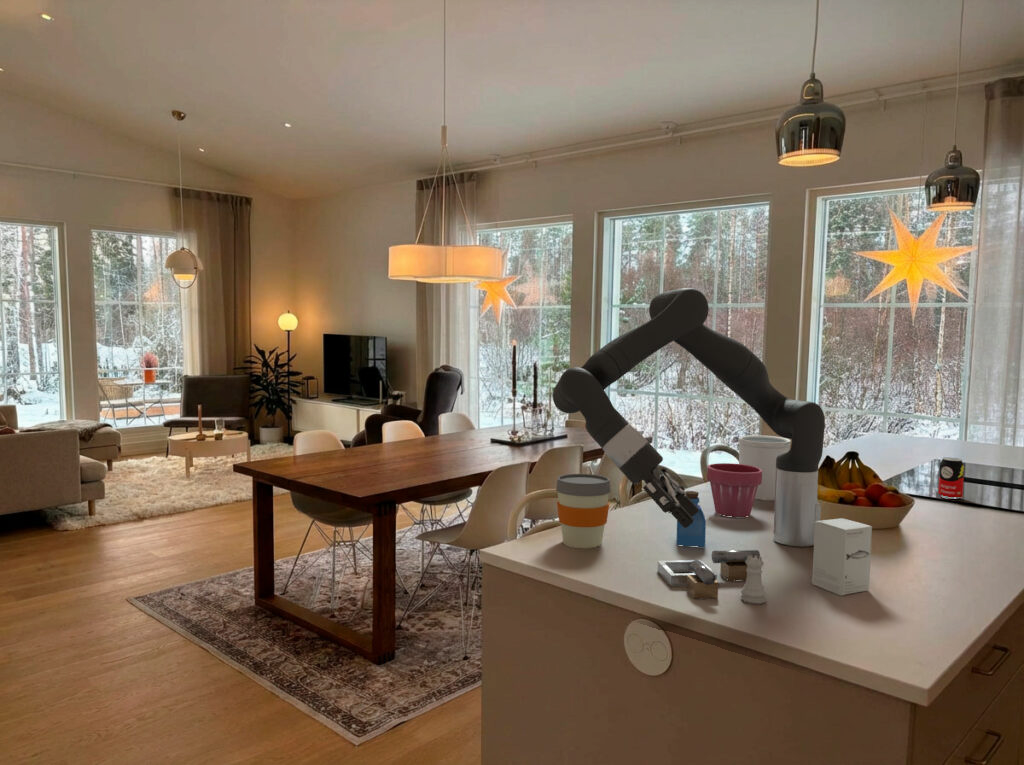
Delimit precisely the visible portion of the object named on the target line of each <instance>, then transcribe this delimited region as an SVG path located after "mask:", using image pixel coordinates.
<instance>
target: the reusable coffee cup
mask: <svg viewBox="0 0 1024 765" xmlns="http://www.w3.org/2000/svg"><path fill="white" fill-rule="evenodd" d="M555 487H556V488H555V490H556V492H557V498H558V500H557V502H556V505H557V514H558V515H557V516H558V522H559V523H560V527H561V533H562V534H561V536H562V543H563V544H564V545H565V546H567V547H571V548H575V549H576V548H577V549H592V548H593V547H594V548H598V547H600V546H602V544H603V537H604V531H605V525H606V524H607V522H608V517H609V509H610V503H609V496H610V494H611V491H612V490H611V480H610V478H609V477H608V476H605V475H602V474H601V475H600V474H593V473H568V474H562V475H559V476H557V479H556V486H555ZM597 546H598V547H597ZM594 548H593V549H594Z"/></svg>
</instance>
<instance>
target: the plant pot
mask: <svg viewBox="0 0 1024 765" xmlns="http://www.w3.org/2000/svg"><path fill="white" fill-rule="evenodd" d="M706 479H707V481H709V484H710V489H711V495H712V500H713V501H712V502H713V505H714V512H715V514H716V513H718V514H721V515H725V516H732V517H745V518H747V517H746V516H749V517H750V516H751V513H752V509H753V507H754V503H755V500H756V499H755V496H756V492H757V488H758V485H760V484H761V483H762V470H761V469H760V468H758V467H754V466H750V465H744V464H739V463H732V462H731V463H728V462H727V463H725V462H724V463H723V462H721V463H711V464H708V465H707V468H706ZM718 514H717V515H718ZM721 515H720V516H721Z"/></svg>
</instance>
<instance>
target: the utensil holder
mask: <svg viewBox="0 0 1024 765" xmlns="http://www.w3.org/2000/svg"><path fill="white" fill-rule="evenodd" d="M791 443H792V440H791V439H788V438H784V437H781V436H774V435H764V434H763V435H762V434H761V435H760V434H759V435H758V434H756V435H755V434H754V435H753V434H751V435H749V434H747V435H740V436H739V437H738V444H739V446H738V447H739V449H738V451H739V452H738V464H744V465H750V466H754V467H758V468H760V469H761V470H762V483H761V484H760V485H758V488H757V492H756V496H755V499H754V500H757V499H761V500H760V501H775V480H776V458H777V456H778V455H780V454H784V453H787V452H788V451H789V450H790V447H791Z"/></svg>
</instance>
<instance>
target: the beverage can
mask: <svg viewBox="0 0 1024 765" xmlns="http://www.w3.org/2000/svg"><path fill="white" fill-rule="evenodd" d="M941 459H942V460H941V461H940V463H939V472H938V493H937V494H938V495H939V494H940V495H943V496H948V497H962V498H963V496H964V478H965V476H964V474H965V465H964V462H963V459H962V458H958V457H957V458H956V457H942V458H941Z"/></svg>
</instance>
